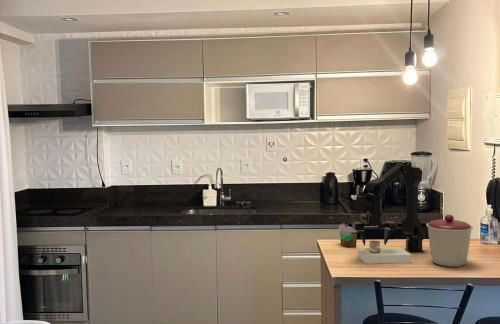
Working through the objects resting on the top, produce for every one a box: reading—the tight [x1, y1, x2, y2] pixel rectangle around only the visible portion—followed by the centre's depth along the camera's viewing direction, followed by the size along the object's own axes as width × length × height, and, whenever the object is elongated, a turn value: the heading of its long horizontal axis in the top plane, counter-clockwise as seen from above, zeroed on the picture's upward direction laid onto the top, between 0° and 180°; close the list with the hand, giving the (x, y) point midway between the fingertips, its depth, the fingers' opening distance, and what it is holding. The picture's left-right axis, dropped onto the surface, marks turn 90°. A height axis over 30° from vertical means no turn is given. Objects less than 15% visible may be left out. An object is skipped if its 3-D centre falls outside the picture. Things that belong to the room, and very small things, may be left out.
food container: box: [338, 223, 358, 249], centre depth 224 cm, size 12×6×10 cm, turn 21°
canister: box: [425, 214, 474, 268], centre depth 190 cm, size 18×18×21 cm
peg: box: [368, 240, 381, 253], centre depth 199 cm, size 5×5×7 cm
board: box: [357, 247, 412, 265], centre depth 199 cm, size 20×12×4 cm, turn 92°
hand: (374, 244), depth 199 cm, fingers open, 9 cm apart
